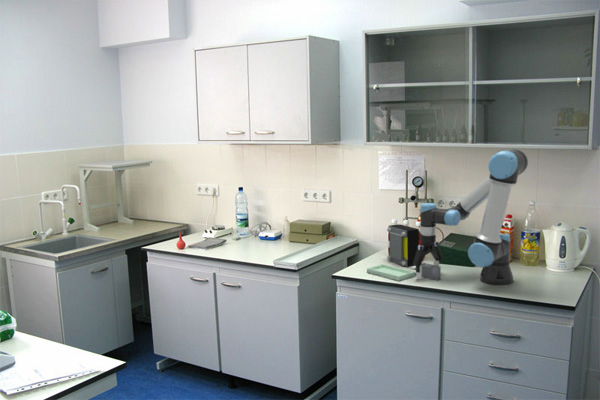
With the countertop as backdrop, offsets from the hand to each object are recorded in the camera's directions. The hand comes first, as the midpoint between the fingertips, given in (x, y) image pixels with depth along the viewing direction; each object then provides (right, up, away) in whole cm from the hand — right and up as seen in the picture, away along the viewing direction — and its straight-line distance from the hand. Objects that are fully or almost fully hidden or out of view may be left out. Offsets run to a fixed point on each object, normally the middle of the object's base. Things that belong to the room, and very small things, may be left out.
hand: (427, 275), depth 282 cm
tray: (-18, 0, +6) cm, 19 cm away
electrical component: (-7, +3, +28) cm, 29 cm away
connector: (-1, 0, +1) cm, 1 cm away
